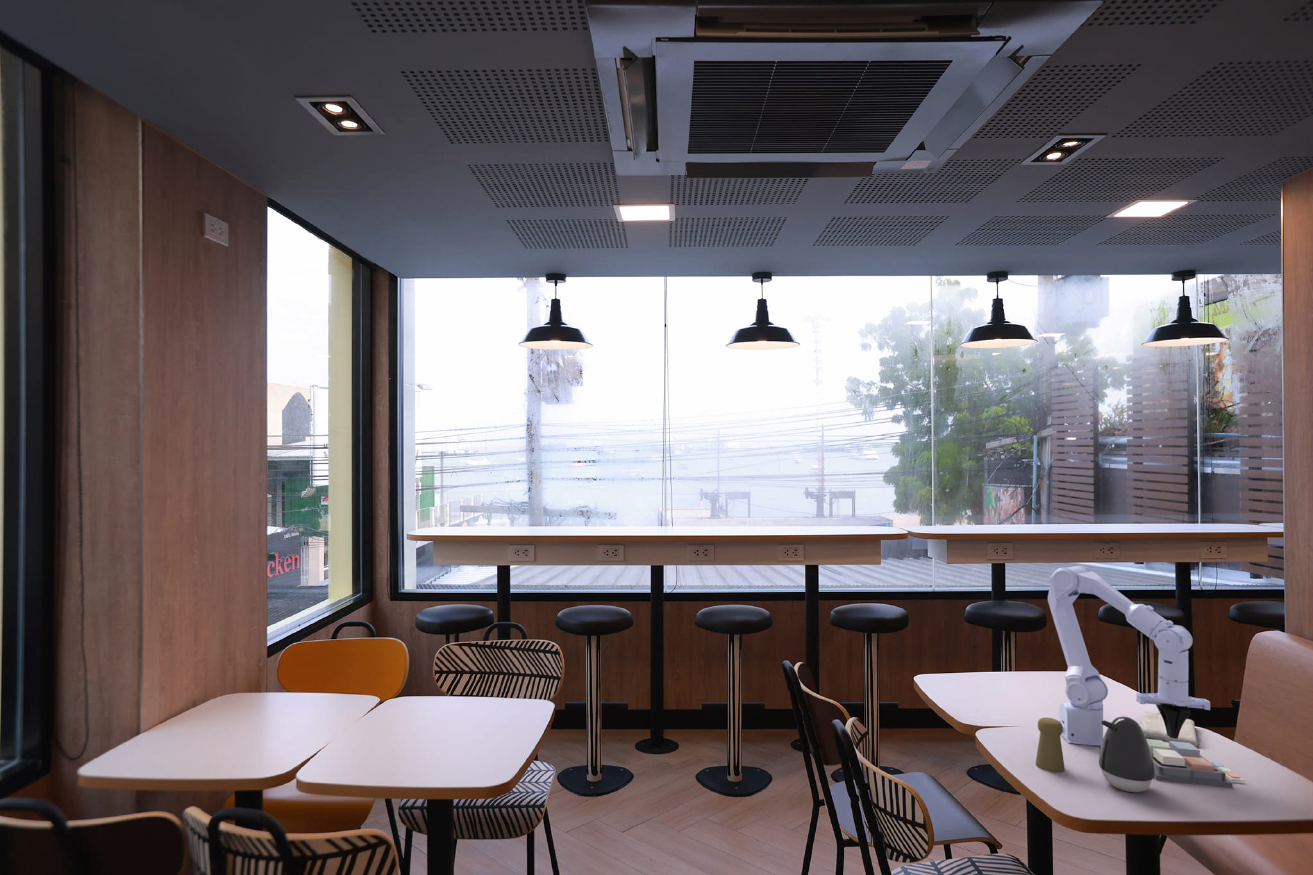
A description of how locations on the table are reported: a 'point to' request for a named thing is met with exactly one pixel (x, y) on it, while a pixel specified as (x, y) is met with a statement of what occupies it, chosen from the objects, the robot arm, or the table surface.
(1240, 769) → the table surface
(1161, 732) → the washcloth
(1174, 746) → the slate key
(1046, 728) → the cork
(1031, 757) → the table surface
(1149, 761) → the pump dispenser
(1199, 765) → the terracotta key
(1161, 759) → the ivory key
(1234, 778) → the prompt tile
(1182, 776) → the keypad base
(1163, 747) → the sage key
